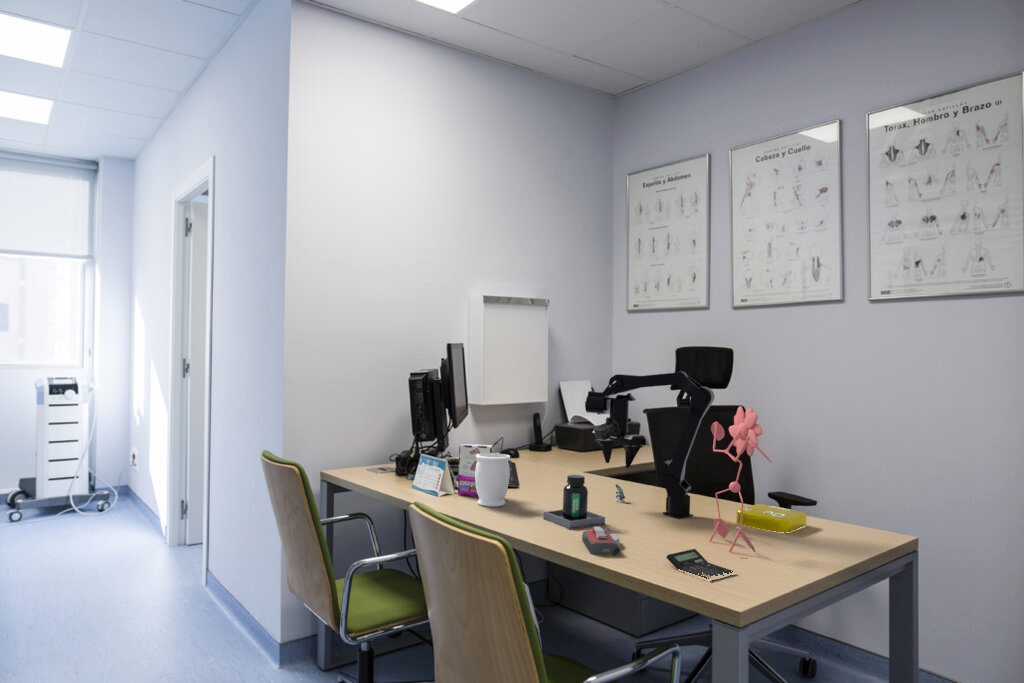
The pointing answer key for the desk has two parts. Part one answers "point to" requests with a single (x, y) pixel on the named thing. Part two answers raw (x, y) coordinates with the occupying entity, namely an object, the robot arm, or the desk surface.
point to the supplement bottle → (575, 498)
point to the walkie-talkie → (601, 541)
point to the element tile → (771, 518)
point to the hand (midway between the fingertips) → (617, 465)
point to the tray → (558, 519)
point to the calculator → (695, 564)
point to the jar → (492, 478)
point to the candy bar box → (470, 467)
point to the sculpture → (620, 494)
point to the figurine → (743, 439)
